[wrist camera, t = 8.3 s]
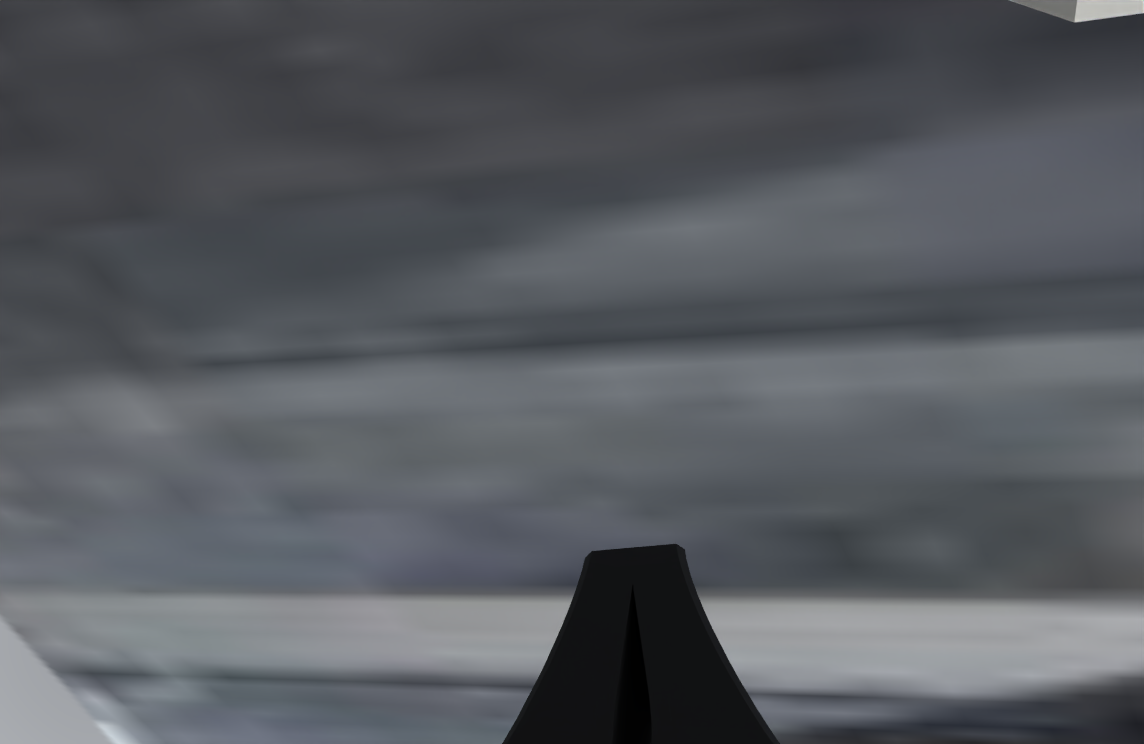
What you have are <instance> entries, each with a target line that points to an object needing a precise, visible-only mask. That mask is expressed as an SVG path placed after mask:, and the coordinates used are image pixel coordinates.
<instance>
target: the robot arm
mask: <svg viewBox="0 0 1144 744" xmlns="http://www.w3.org/2000/svg"><path fill="white" fill-rule="evenodd" d="M502 744H780V743H779V742H778V740H777V739H776V737H775V736H774V734H773V733H772V731H771V730H770V728H769V727H768V725H767V724H766V722H765V721H764V719H763V718H762V716H761V714H760V713H759V711H758V710H757V708H756V707H755V705H754V703H753V702H752V700H751V698H750V697H749V695H748V693H747V692H746V690H745V688H744V687H743V685H742V683H741V682H740V680H739V678H738V676H737V675H736V673H735V671H734V669H733V667H732V666H731V664H730V662H729V660H728V658H727V656H726V654H725V652H724V650H723V648H722V646H721V644H720V643H719V641H718V639H717V637H716V635H715V633H714V631H713V629H712V627H711V625H710V622H709V620H708V618H707V616H706V614H705V611H704V609H703V607H702V604H701V602H700V599H699V597H698V595H697V592H696V589H695V587H694V584H693V581H692V578H691V575H690V572H689V568H688V564H687V560H686V555H685V549H683V548H682V547H680V546H679V545H677V544H669V545H657V546H646V547H634V548H623V549H611V550H600V551H592V552H591V553H590V554H589V555H588V556H587V557H586V558H585V561H584V565H583V569H582V572H581V576H580V579H579V582H578V585H577V588H576V591H575V594H574V597H573V599H572V602H571V605H570V607H569V610H568V612H567V615H566V617H565V620H564V622H563V625H562V627H561V629H560V632H559V634H558V636H557V638H556V641H555V643H554V645H553V647H552V650H551V652H550V654H549V656H548V659H547V661H546V663H545V665H544V667H543V669H542V671H541V673H540V676H539V677H538V679H537V681H536V683H535V685H534V687H533V689H532V691H531V693H530V695H529V696H528V698H527V700H526V702H525V704H524V706H523V708H522V710H521V712H520V714H519V716H518V717H517V719H516V721H515V723H514V725H513V726H512V728H511V730H510V731H509V733H508V735H507V737H506V738H505V740H504V742H503V743H502Z"/></svg>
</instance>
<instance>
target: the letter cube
mask: <svg viewBox="0 0 1144 744" xmlns="http://www.w3.org/2000/svg"><path fill="white" fill-rule="evenodd" d="M1009 1H1012V2H1015V3H1018V4H1021V5H1024V6H1027V7H1030V8H1033V9H1036V10H1039V11H1042V12H1045V13H1048V14H1051V15H1054V16H1057V17H1059V18H1062V19H1065V20H1068V21H1071V22H1082V21H1089V20H1096V19H1104V18H1111V17H1119V16H1126V15H1133V14H1141V13H1144V0H1009Z"/></svg>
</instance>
